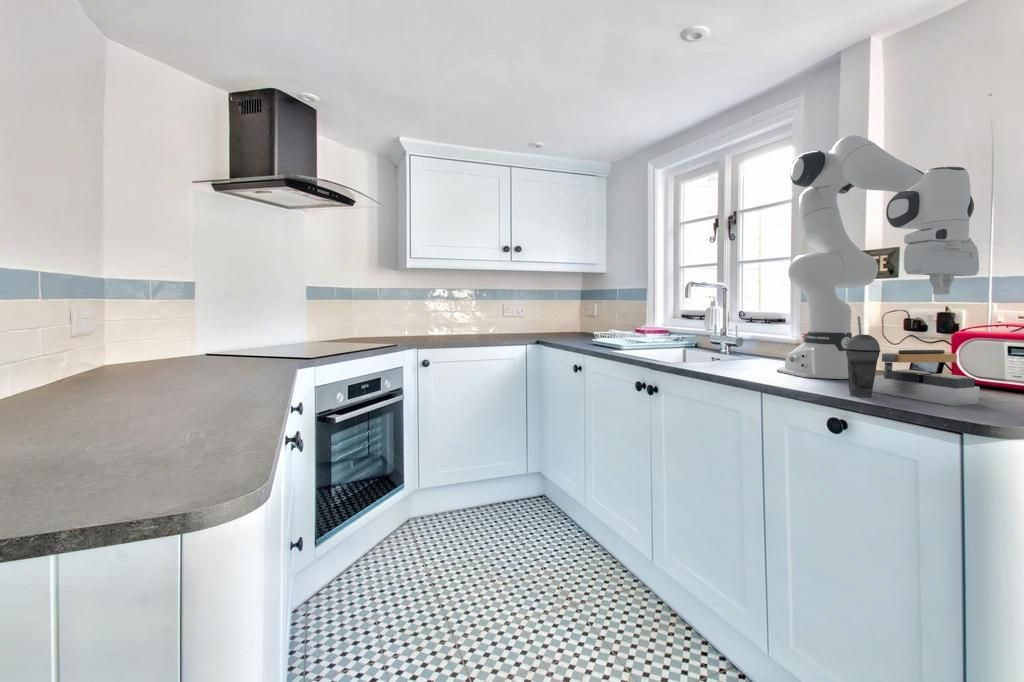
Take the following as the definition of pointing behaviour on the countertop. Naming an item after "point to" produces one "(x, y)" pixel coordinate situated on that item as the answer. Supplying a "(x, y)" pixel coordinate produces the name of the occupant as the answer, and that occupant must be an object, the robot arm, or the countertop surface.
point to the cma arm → (919, 356)
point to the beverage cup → (862, 363)
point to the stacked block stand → (927, 386)
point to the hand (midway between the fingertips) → (941, 294)
